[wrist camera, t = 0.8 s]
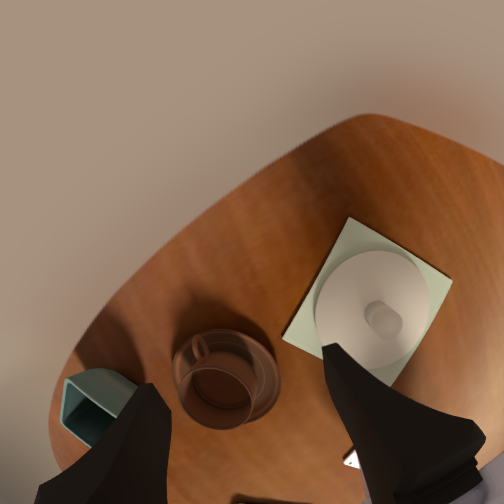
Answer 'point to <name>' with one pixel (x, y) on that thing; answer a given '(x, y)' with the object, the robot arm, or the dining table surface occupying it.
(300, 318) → the plate
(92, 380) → the flower pot
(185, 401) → the cup and saucer
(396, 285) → the lid
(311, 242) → the dining table surface
